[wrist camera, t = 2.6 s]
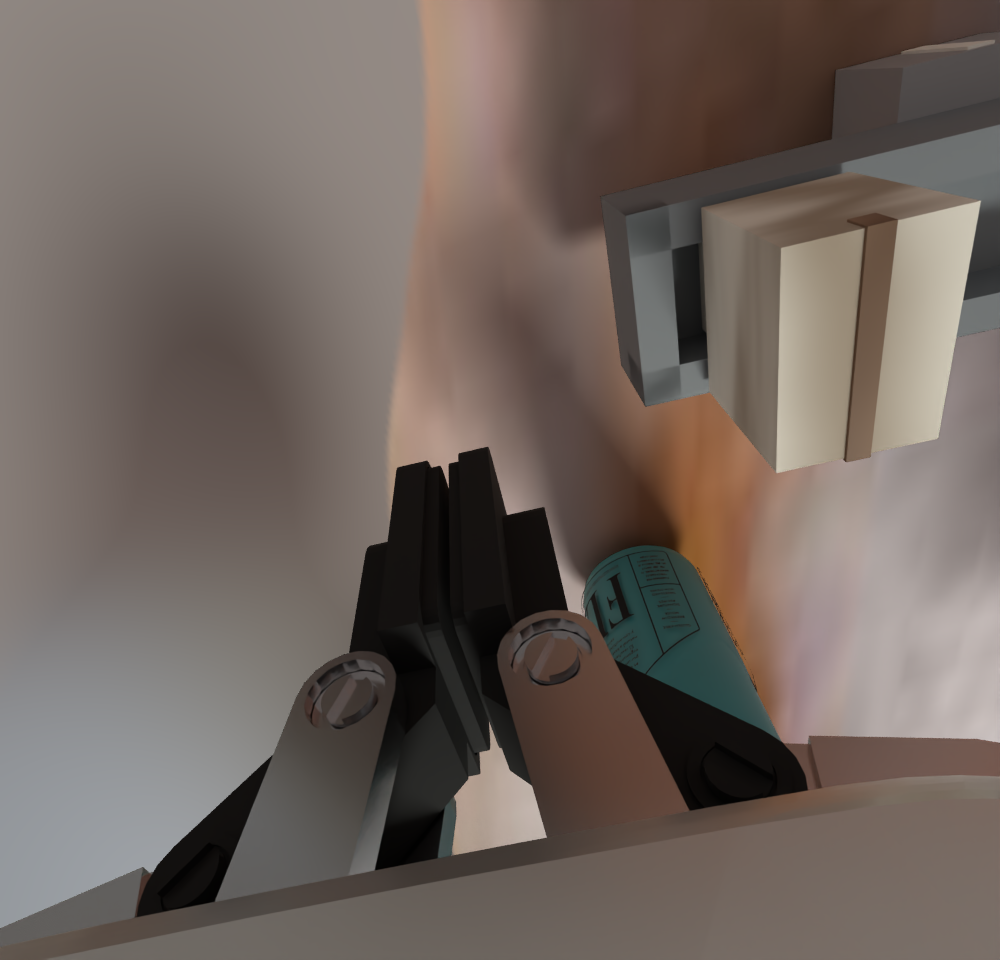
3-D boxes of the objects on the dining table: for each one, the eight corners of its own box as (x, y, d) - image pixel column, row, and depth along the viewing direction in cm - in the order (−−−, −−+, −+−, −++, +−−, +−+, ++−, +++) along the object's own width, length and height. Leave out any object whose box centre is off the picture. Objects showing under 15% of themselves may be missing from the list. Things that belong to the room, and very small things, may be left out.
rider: (814, 161, 19) (985, 198, 13) (805, 342, 22) (940, 442, 16) (679, 194, 19) (783, 246, 13) (689, 369, 22) (778, 476, 16)
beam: (1267, -43, 21) (1620, -99, 15) (1172, 232, 26) (1408, 281, 20) (573, 133, 23) (619, 153, 16) (605, 362, 28) (650, 446, 21)
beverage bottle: (596, 513, 32) (749, 987, 15) (713, 534, 33) (976, 995, 16) (559, 606, 36) (651, 1080, 19) (667, 622, 37) (846, 1081, 20)
